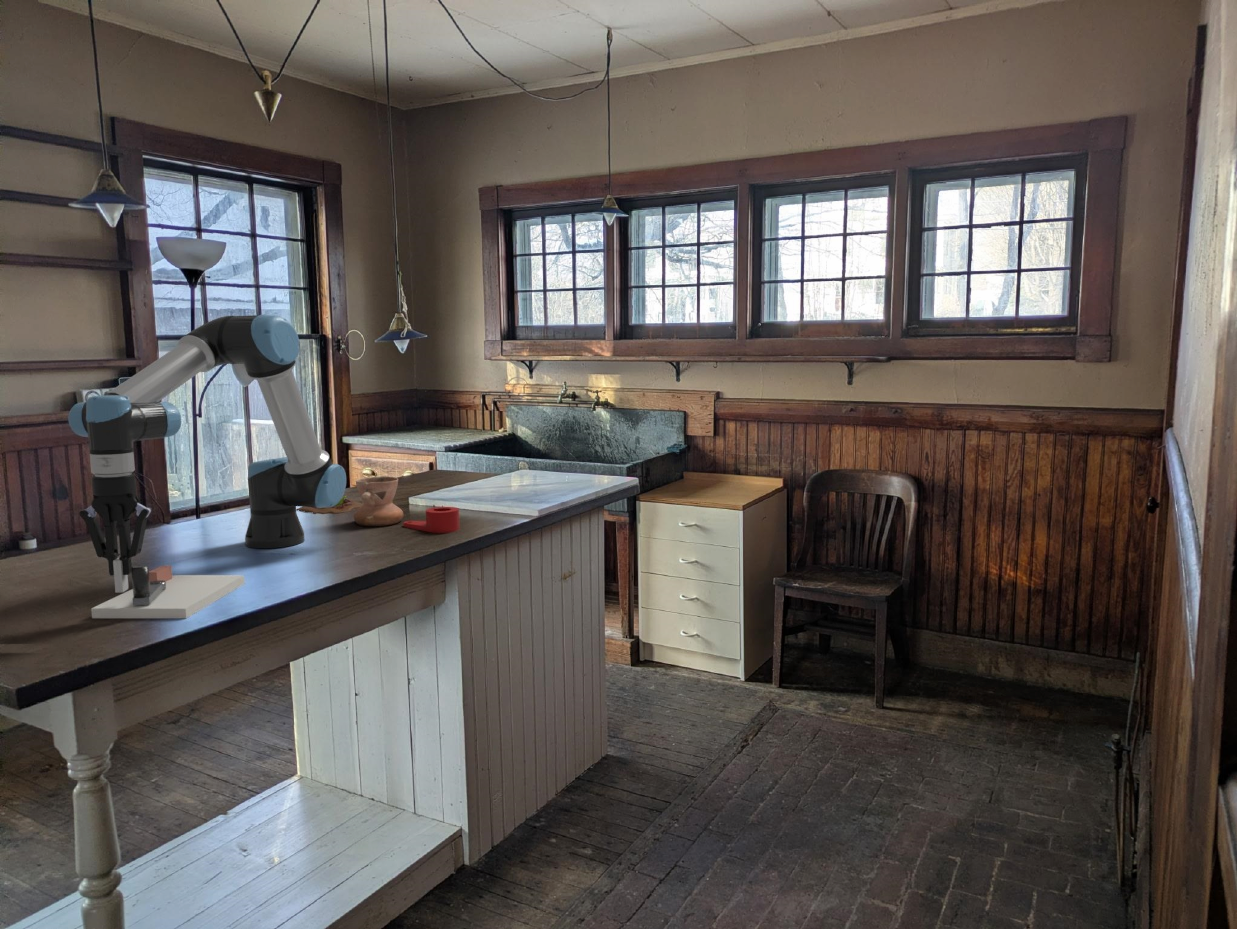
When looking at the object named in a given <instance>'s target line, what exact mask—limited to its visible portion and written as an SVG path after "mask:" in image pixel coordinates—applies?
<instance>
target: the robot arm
mask: <svg viewBox="0 0 1237 929" xmlns="http://www.w3.org/2000/svg"><path fill="white" fill-rule="evenodd" d="M299 346H300V340H299V335H298V333H297V330H296V329H295V327H294V325H293V324H292V323H291V322H290V321H289V320H288V319H286V318H284V317H282V316H279V315H273V314H272V315H271V314H267V313H266V314H263V313H262V314H260V315H259V314H257V315H256V314H255V315H252V314H251V315H224V316H220V317H217V318H215V319H212V320H209V321H207V322H206V323H203V324H202V325H200V326H199V327H196V328H195V329H193V330H191V331H190V332H188V333H186V334H185V335H184V336H182V337H181V338H180V339H179V340H178V342H177V346H176V347H174V348H173V349H170V351H168V352H166V353H165V354H164V355H162V356H160V357H159V358H158V359H156V360H155V361H152V362H151V363H150V364H148V365H147V366H145V367H144V368H143V369H142V370H140V371H138V372H137V373H135V374H134V375H132V376H131V377H129V378H127V379H126V380H125V381H123V382H122V383H120V384H119V385H117V386H116V387H114V388H113V389H112V390H110V391H108V392H106V393H105V394H104V395H93V396H90V397H88V398H87V400H86V401H82V402H77V403H76V404H74V405H73V406H72V407H71V408H70V411H69V412H68V417H67V418H68V424H69V426H70V428H71V431H72V432H74V434H76V435H78V436H80V437H83V438H84V437H85V438H87V439H88V447H89V460H90V461H89V462H90V473H91V474H93V476H92V477H91V489H92V490H91V492H92V500H91V502H90V506H88V507H87V508H85V509H82V510H80V511H79V514H78V515H79V516H80V517H81V519H82V520H83V521H84V523H85V524H86V528H87V530H88V533H89V536H90V540H91V542H92V544H93V547H94V550H95V553H96V556H97V557H98V558H104V559H106V560H107V564H108V573H109V575H110V576H113V578H114V590H115V591H114V592H115V593H118V594H119V593H125V592H127V591H128V590H130V589H129V579H128V578H129V575H130V574H131V575H132V572H131V568H132V567H133V565H132V558H133V557H135V556H137V555H140V553H142V548H143V543H144V539H145V533H146V527H147V524H148V518H149V517H150V515H151V513H153V508H152V507H151V506H149V507H146V506H145V505H143V504H141V503H140V499H139V498H138V496H137V482H136V479H137V478H136V475H135V474H134V473H133V472H134V471H136V468H135V467H136V466H135V455H134V442H137V441H145V440H156V439H161V440H162V439H164V438H168V437H173V436H174V435H176V434H177V433H178V432H179V431H180V429H181V426H182V416H181V412H180V410H179V409H178V407H177V406H176V405H174V403H171V402H167V401H161V400H163V399H164V398H166V397H167V396H168V395H171V393H172V392H175V390H178V388H180V387H181V386H182V385H184V384H186V382H188V381H189V380H191V379H192V378H194V377H195V376H196V375H198V374H200V373H208V372H209V371H211V370H212V369H214V368H216V367H219V366H222V365H224V366H225V365H229V364H230V365H231V364H233V365H234V364H235V365H243V366H244V368H245V371H246V373H247V376H248V377H249V378H250V379H253V380H256V382H257V383H258V386H259V389H260V391H261V394H262V397H263V399H264V401H265V404H266V408H267V410H268V412H269V415H270V417H271V420H272V422H273V425H274V428H275V430H276V433H277V436H278V438H279V441H280V444H281V446H282V449H283V451H284V454H285V456H286V457H285V456H284V457H277V458H270V459H264V460H263V459H262V460H259V461H254V462H251V463H250V464H249V465H248V466H247V467H248V469H247V470H248V471H247V474H248V475H247V483H248V484H247V485H248V496H249V497H248V498H249V510H250V518H249V522H248V526H247V529H246V533H245V535H244V541H245V542H244V543H245V546H246V547H248V548H251V549H276V548H277V549H278V548H286V547H291V546H296V545H299V544H303V542H305V540H306V539H305V531H304V529H303V526H302V524H301V521H300V519H299V517H298V513H297V510H296V509H297V507H317V508H323V507H333V506H335V505H336V504H338V503H339V501H340V500H341V499H342V498H343V497H344V494H345V492H346V487H347V475H346V470H345V468H344V467H343V466H342V465H340V464H338V463H333V462H332V459H331V458H330V454H329V453H328V451H326V450H324V449H321V447H320V444H319V442H318V438H317V435H316V433H315V430H314V427H313V424H312V422H311V420H310V419H311V418H310V416H309V413H308V410H307V408H306V405H305V401H304V400H303V397H302V393H301V391H300V388H299V385H298V382H297V380H296V376H295V375H294V372H293V370H294V368H295V366H296V365H297V361H296V359H297V357H298V356H299V353H300V348H299ZM135 511H136V516H137V517H136V521H135V525H134V529H133V535H132V538H131V520H132V519H131V517H132V516H133V514H134V513H135ZM97 514H98V515H99V516H100V518H101V519H102V525H103V528H104V533H103V530H102V528H101V526H100V522H99V520H98V517H97ZM117 527H118V528H117ZM117 529H118V530H117ZM118 541H119V543H118ZM119 556H120V557H119Z"/></svg>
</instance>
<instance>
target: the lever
mask: <svg viewBox="0 0 1237 929" xmlns="http://www.w3.org/2000/svg"><path fill="white" fill-rule="evenodd" d="M403 527H404V528H406V529H407V528H408V529H412V530H419V531H423V532H427V533H433V534H445V533H446V534H447V533H455V532H458V531H459V530H460V509H459V507H455V506H437V507H429V508H427V509H425V520H408V521H407V520H406V521H404V522H403Z"/></svg>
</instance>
